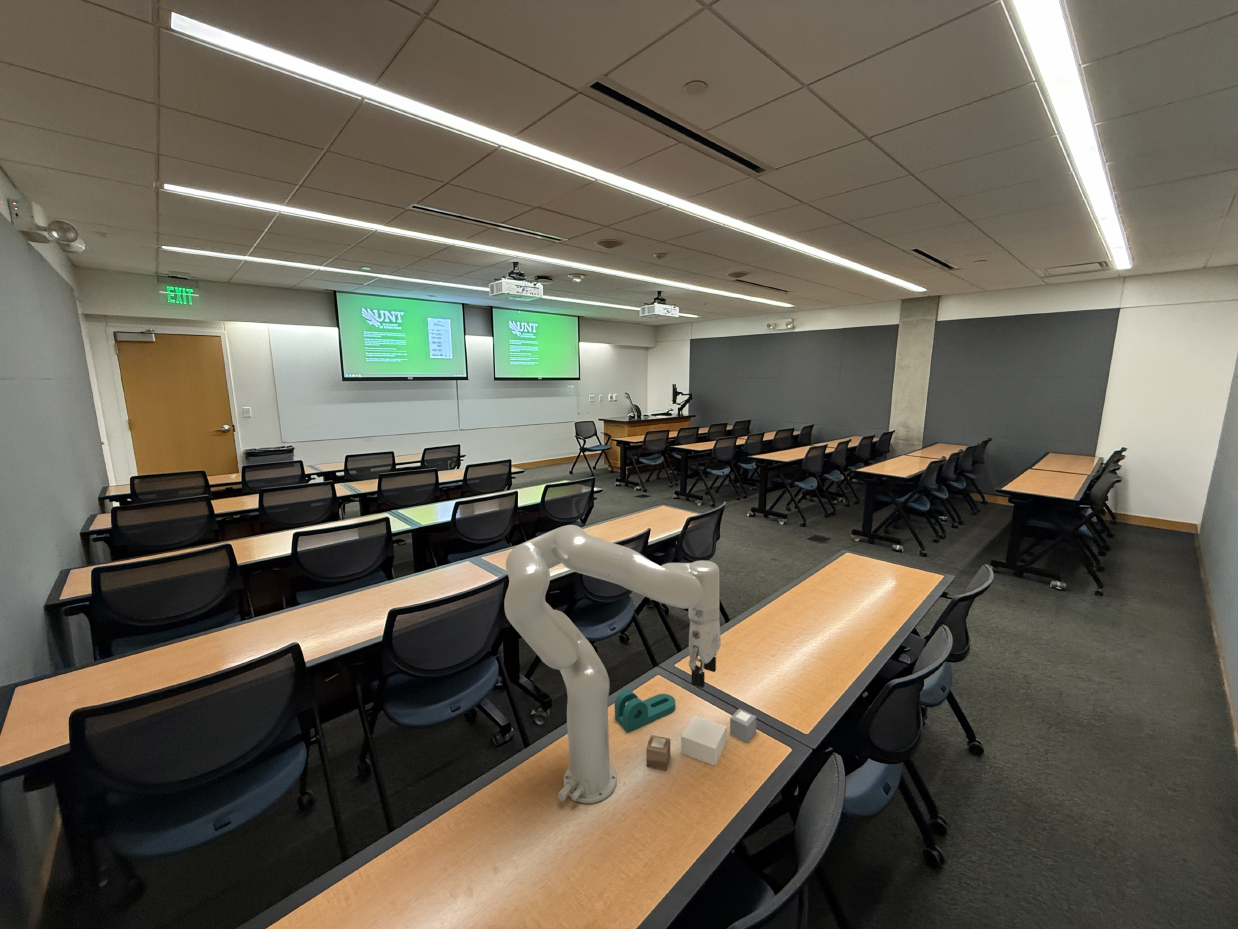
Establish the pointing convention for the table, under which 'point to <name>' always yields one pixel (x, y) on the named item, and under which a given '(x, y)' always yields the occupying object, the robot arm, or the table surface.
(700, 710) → the table surface
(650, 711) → the bracket
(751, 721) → the slate block
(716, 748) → the plain block
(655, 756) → the walnut block
